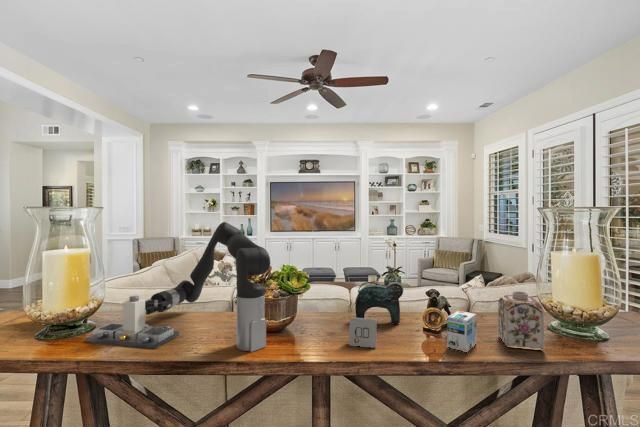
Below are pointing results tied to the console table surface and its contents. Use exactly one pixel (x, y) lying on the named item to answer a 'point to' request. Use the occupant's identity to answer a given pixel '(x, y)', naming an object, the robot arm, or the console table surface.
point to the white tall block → (133, 314)
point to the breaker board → (132, 336)
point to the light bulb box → (461, 330)
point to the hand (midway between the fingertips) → (136, 311)
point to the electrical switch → (362, 332)
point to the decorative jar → (521, 320)
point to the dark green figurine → (380, 298)
